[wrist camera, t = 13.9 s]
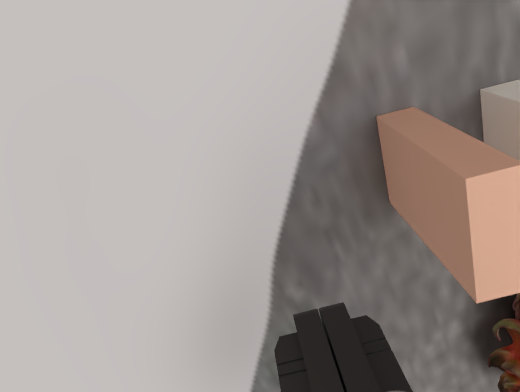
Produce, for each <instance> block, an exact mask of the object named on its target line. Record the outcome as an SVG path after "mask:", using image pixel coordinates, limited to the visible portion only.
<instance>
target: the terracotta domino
mask: <svg viewBox="0 0 520 392" xmlns="http://www.w3.org/2000/svg"><path fill="white" fill-rule="evenodd" d="M376 118H377V124H378V131H379V137H380V144H381V150H382V156H383V163H384V169H385V176H386V182H387V188H388V195H389V201H390V203H391V205H392V206H393V207H394V208H395V209H396V210H397V211H398V213H399V214H400V215H401V216H402V217H403V218H404V220H405V221H406V222H407V223H408V224H409V225H410V227H411V228H412V229H413V230H414V231H415V232H416V233H417V235H418V236H419V237H420V238H421V239H422V240H423V242H424V243H425V244H426V245H427V246H428V247H429V249H430V250H431V251H432V252H433V253H434V254H435V256H436V257H437V258H438V259H439V260H440V261H441V262H442V264H443V265H444V266H445V267H446V268H447V269H448V271H449V272H450V273H451V274H452V275H453V276H454V278H455V279H456V280H457V281H458V282H459V283H460V284H461V286H462V287H463V288H464V289H465V290H466V291H467V293H468V294H469V295H470V296H471V297H472V298H473V300H474V301H475V302H476V303H481V302H485V301H489V300H493V299H497V298H501V297H505V296H509V295H513V294H517V293H520V161H518V160H517V159H515V158H513V157H511V156H509V155H507V154H505V153H503V152H501V151H499V150H497V149H495V148H493V147H491V146H489V145H487V144H485V143H483V142H482V141H480V140H478V139H476V138H474V137H472V136H470V135H468V134H466V133H464V132H462V131H460V130H458V129H456V128H454V127H452V126H450V125H448V124H447V123H445V122H443V121H441V120H439V119H437V118H435V117H433V116H431V115H429V114H427V113H425V112H423V111H421V110H419V109H417V108H415V107H410V108H406V109H403V110H399V111H395V112H391V113H387V114H383V115H379V116H376Z"/></svg>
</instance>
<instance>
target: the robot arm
mask: <svg viewBox="0 0 520 392" xmlns="http://www.w3.org/2000/svg"><path fill="white" fill-rule="evenodd" d="M319 311H320V316H321V319H320V316H319V313H318V310H317V309H314V310H310V311H306V312H302V313H298V314H294V315H293V316H294V320H295V325H296V329H297V332H296V333H292V334H288V335H284V336H280V337H279V340H278V342H277V345H276V348H275V350H274V351H275V357H276V363H277V369H278V375H279V381H280V388H281V392H413V391H412V390H411V388H410V386H409V384H408V382H407V380H406V378H405V376H404V374H403V372H402V370H401V368H400V366H399V364H398V362H397V360H396V358H395V356H394V354H393V352H392V351H391V348H390V346H389V344H388V342H387V340H386V338H385V336H384V334H383V332H382V330H381V328H380V326H379V324H377V323H376V322H375V321H373V320H372V319H371V318H369V317H368V316H367V315H365V316H361V317H357V318H353V319H350V316H349V314H348V312H347V309H346V307H345V304H344V303H343V302H342V303H338V304H334V305H330V306H326V307H322V308H319ZM321 321H322V322H321Z"/></svg>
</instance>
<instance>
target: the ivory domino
mask: <svg viewBox="0 0 520 392" xmlns="http://www.w3.org/2000/svg"><path fill="white" fill-rule="evenodd" d="M480 95H481V109H482V124H483V138H484V143H485V144H487V145H489V146H491V147H493V148H495V149H497V150H499V151H501V152H503V153H505V154H507V155H509V156H511V157H513V158H515V159H517V160H518V161H520V80H515V81H511V82H507V83H503V84H499V85H495V86H491V87H487V88H483V89H480Z"/></svg>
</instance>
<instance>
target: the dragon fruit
mask: <svg viewBox="0 0 520 392" xmlns="http://www.w3.org/2000/svg"><path fill="white" fill-rule="evenodd" d="M513 310H515V319H503V320H501V321H499V322H498V323H497V324H495V326H494V327H493V329H492V332H493V334H494V335H495V337H496V338H497V339H498V340H500V341H501V337H500V335H499V333H498V331H499V328H501V327H505V328H506V329H507V330H508V333H509V335H510V336H511V337H512V339H513V343H512V344H511V345H509V346H506V347H503V348H499V349H497V350H495V351H494V352H493V353H492V354H490V356H489V357H488V367H491V366H494V367H498V368H500V369H501V370H502V371H504V372H505V373H503V374H502V375H501V376H500V381H499V383H498V388H499V390H500V392H520V293H517V294H516V299H515V300H514V302H513Z"/></svg>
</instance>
